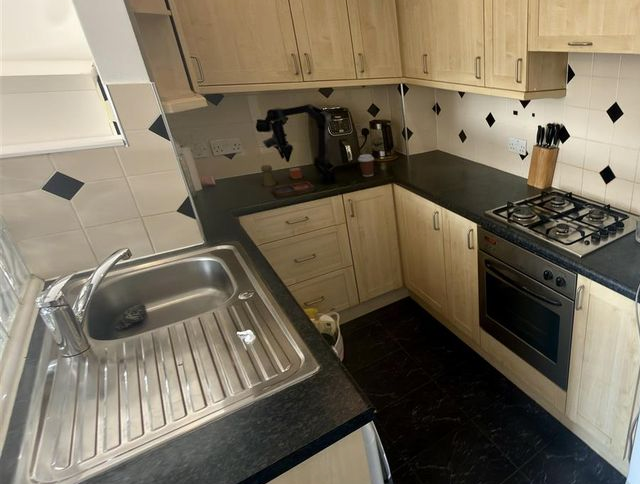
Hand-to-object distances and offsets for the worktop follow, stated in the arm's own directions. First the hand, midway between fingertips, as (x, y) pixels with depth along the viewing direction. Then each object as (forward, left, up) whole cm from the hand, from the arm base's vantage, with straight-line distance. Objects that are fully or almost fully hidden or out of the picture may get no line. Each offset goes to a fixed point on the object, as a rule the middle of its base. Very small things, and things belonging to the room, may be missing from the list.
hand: (285, 160), depth 227 cm
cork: (+10, -2, -13) cm, 16 cm away
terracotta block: (-5, -7, -13) cm, 15 cm away
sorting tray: (+3, +18, -13) cm, 22 cm away
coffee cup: (-40, +14, -13) cm, 45 cm away
